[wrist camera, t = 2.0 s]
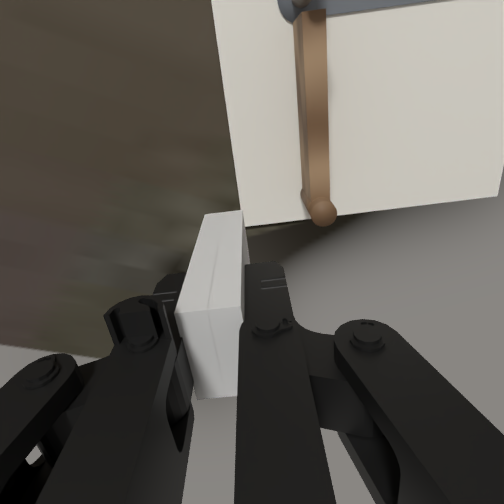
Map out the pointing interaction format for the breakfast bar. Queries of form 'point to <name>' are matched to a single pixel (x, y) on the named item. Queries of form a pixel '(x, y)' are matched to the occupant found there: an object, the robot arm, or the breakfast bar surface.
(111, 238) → the breakfast bar surface
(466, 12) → the card
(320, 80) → the bar
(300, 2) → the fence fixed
